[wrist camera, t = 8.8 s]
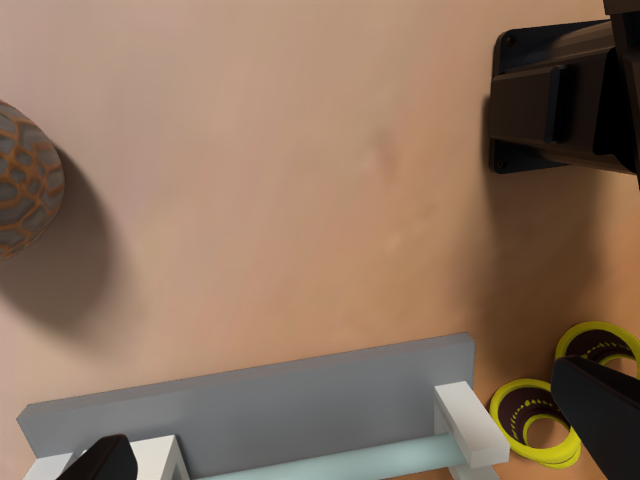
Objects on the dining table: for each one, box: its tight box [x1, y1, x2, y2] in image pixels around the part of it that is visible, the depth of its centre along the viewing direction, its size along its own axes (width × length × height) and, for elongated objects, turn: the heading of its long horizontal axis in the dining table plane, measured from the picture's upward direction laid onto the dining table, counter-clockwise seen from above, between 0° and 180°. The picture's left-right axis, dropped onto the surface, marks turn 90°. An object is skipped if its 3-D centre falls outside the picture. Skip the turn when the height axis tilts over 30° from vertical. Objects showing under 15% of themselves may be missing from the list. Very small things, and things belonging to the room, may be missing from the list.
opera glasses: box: [489, 321, 640, 469], centre depth 22 cm, size 10×5×5 cm, turn 137°
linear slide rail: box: [16, 332, 510, 480], centre depth 20 cm, size 26×10×6 cm, turn 96°
